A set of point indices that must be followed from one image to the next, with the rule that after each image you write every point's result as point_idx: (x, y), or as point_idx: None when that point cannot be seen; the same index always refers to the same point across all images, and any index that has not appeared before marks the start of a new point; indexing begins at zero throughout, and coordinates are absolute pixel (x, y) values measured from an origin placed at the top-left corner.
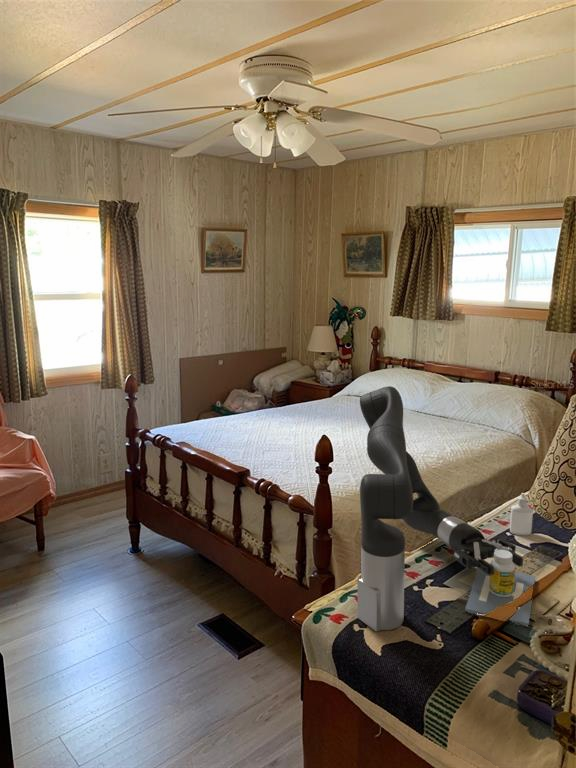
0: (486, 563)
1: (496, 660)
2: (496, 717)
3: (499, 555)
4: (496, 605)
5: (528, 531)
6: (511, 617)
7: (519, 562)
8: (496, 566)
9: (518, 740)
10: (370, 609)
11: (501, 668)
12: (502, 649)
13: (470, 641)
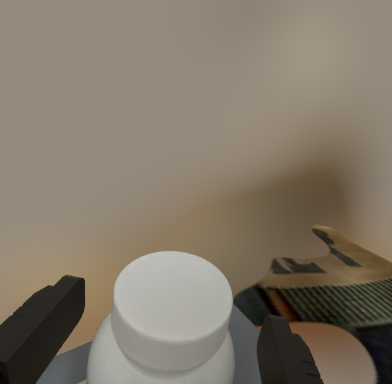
0: (296, 354)
1: (327, 287)
2: (358, 251)
3: (213, 287)
4: (242, 381)
5: None
6: (238, 318)
7: (81, 298)
8: (229, 333)
9: (341, 236)
10: None
11: (325, 276)
12: (305, 294)
13: (371, 342)
